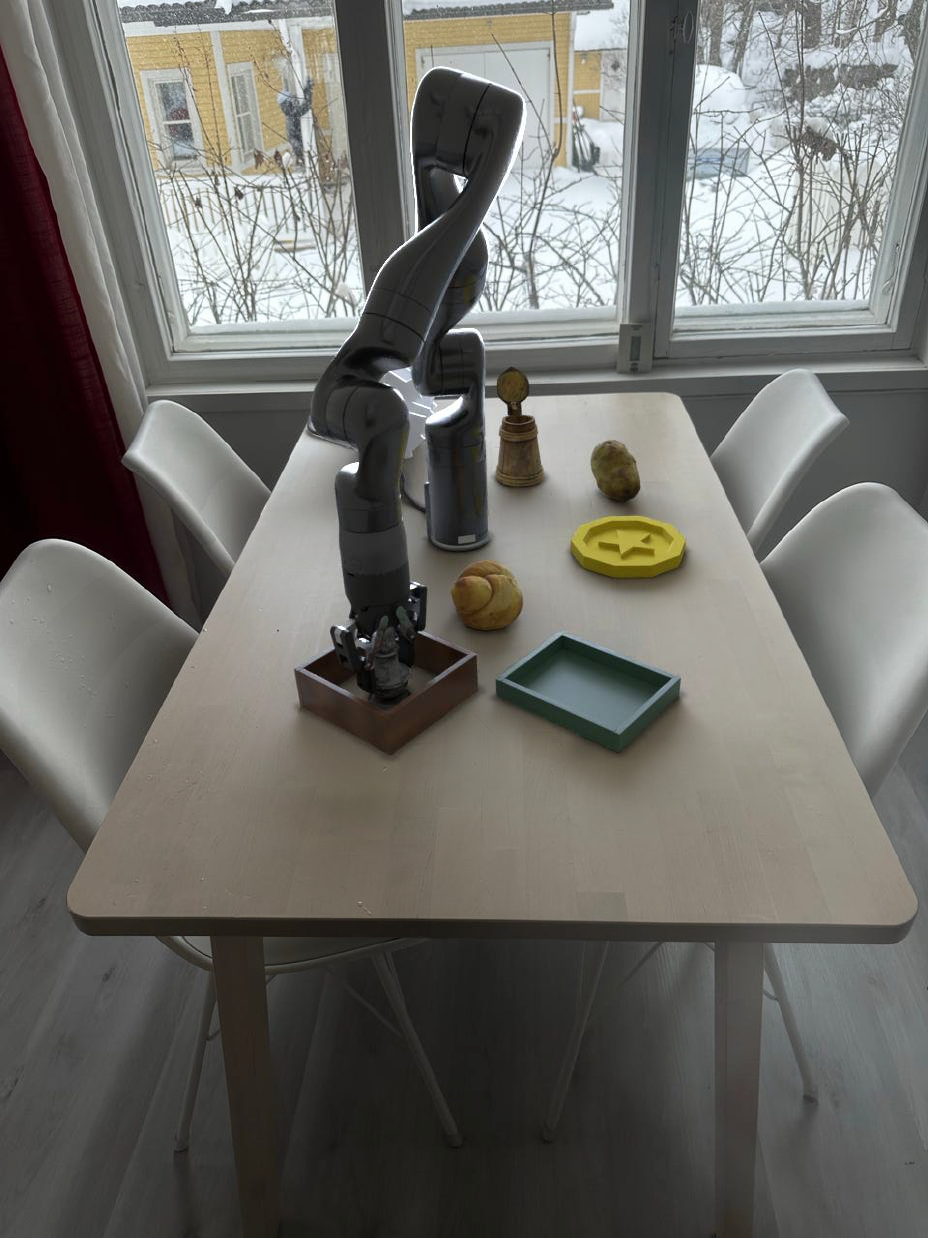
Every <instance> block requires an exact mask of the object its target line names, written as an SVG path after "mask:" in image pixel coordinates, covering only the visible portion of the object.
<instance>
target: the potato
mask: <svg viewBox="0 0 928 1238" xmlns="http://www.w3.org/2000/svg"><path fill="white" fill-rule="evenodd" d="M589 463H590V471H591V473H592V475H593V477H594V479H595V481H596V485H597V488H598V490H599V491H600V492H601V493H602V494H603V495H604V496H606V497H608V498H610V499H611V500H615V501H621V502H627V501H632V500H633V499H635V498H636V497H637V496H638V494H639V492H640V491H641V486H642V485H641V478H640V477H641V476H640V473H639V470H638V466H637V465H638V464H637V460H636V459H635V457H634V455H633V454H631V453H630V452H629V449H628V448H627V446H626V444H625V443H623V442H621V441H618V440H615V439H607V440H605V441H603V442H600V443H598V444H596V445H595V446H594V448H593V450H592V452H591V456H590V462H589Z"/></svg>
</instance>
